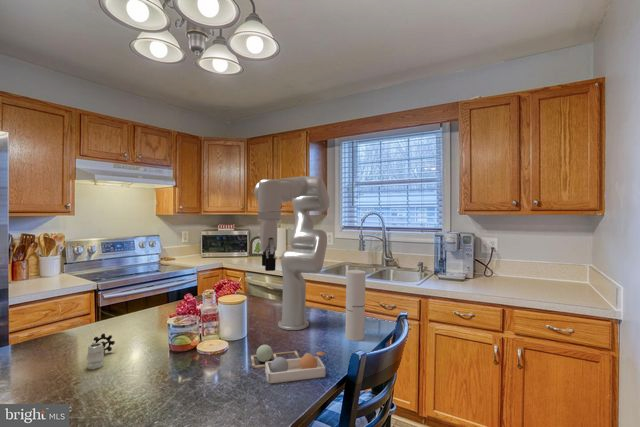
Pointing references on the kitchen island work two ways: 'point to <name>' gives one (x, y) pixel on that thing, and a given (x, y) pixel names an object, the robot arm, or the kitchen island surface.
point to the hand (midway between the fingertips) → (268, 268)
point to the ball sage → (264, 353)
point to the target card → (317, 353)
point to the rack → (273, 356)
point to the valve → (98, 351)
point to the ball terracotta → (308, 362)
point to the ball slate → (279, 365)
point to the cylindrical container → (355, 305)
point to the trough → (294, 371)
